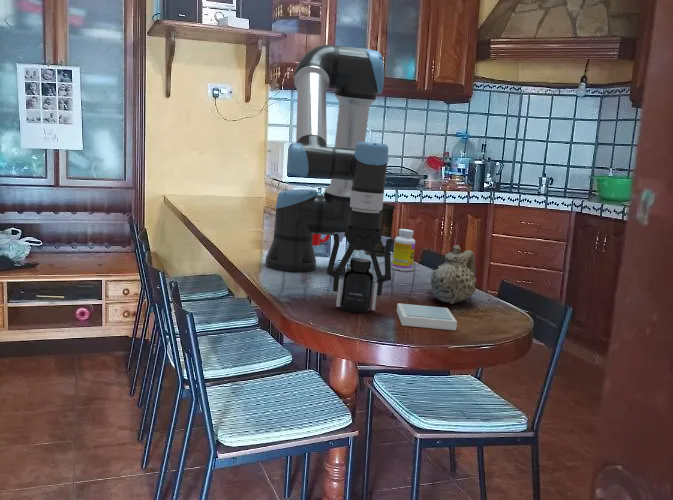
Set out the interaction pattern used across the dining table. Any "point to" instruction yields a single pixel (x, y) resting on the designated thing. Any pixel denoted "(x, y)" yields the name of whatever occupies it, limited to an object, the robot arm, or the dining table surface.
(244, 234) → the dining table surface
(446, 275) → the teapot
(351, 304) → the supplement bottle
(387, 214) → the container
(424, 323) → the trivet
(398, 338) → the dining table surface
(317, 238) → the mug
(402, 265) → the supplement bottle
